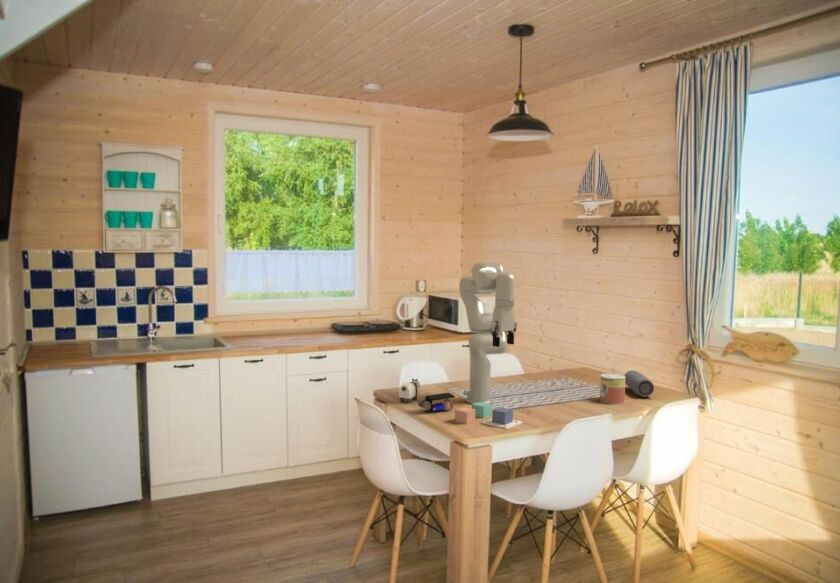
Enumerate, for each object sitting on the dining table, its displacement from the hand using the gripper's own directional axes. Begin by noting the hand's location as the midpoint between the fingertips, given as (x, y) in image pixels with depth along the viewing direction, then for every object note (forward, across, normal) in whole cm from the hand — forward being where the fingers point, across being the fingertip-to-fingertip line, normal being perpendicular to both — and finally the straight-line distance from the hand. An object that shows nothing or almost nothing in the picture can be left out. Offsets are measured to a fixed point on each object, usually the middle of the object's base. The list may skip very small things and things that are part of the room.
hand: (503, 345), depth 270 cm
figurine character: (+32, +10, -27) cm, 43 cm away
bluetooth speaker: (+31, -89, +17) cm, 95 cm away
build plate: (+31, +4, +3) cm, 32 cm away
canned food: (+31, -64, +16) cm, 73 cm away
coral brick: (+32, +13, -9) cm, 35 cm away
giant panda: (+31, +5, -49) cm, 58 cm away
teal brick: (+31, +1, -10) cm, 33 cm away
